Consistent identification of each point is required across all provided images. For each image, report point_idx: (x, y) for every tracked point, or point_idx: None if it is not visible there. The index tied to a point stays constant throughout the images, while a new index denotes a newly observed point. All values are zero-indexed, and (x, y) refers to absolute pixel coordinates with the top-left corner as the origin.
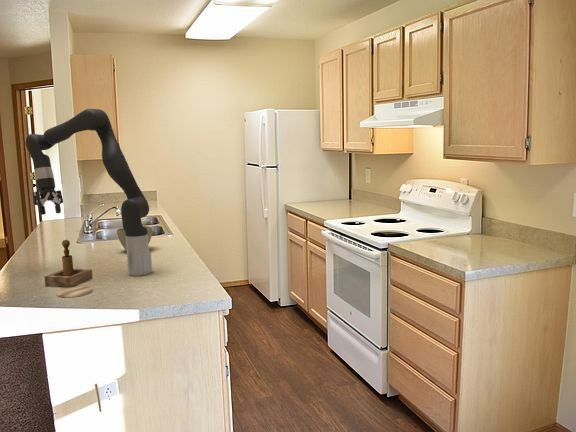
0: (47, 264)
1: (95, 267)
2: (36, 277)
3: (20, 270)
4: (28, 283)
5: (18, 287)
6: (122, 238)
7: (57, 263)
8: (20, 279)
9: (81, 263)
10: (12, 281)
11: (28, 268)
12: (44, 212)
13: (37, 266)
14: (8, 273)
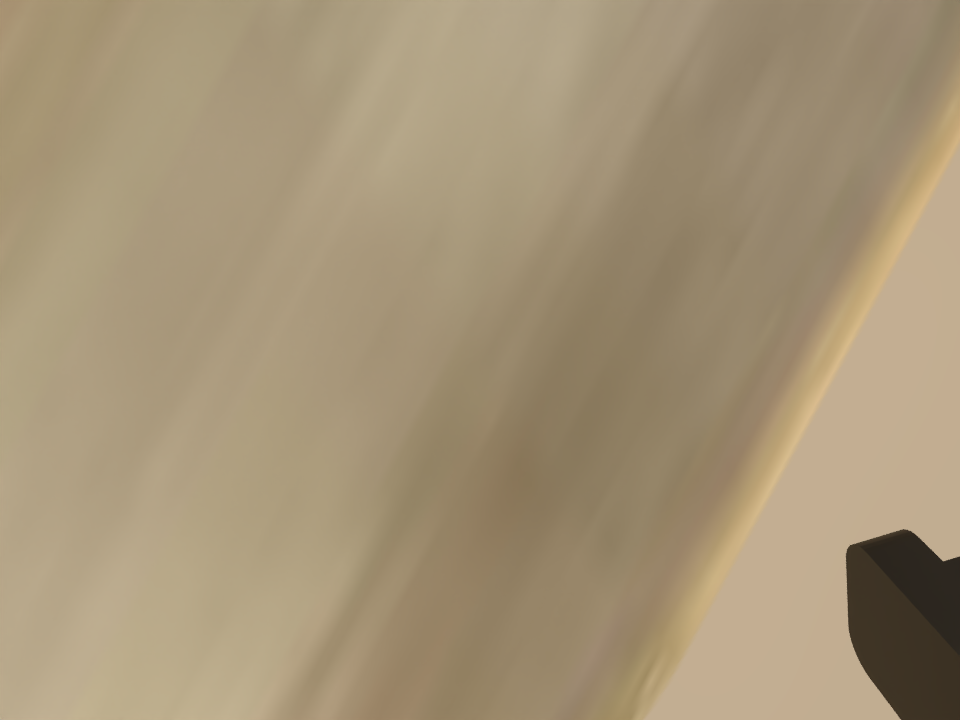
0: (300, 646)
1: (25, 24)
2: (646, 217)
3: (574, 617)
4: (805, 62)
5: (921, 8)
6: None
7: (212, 606)
8: (755, 282)
9: (33, 379)
10: (825, 276)
11: (493, 634)
12: (930, 549)
13: (403, 644)
14: (685, 594)
